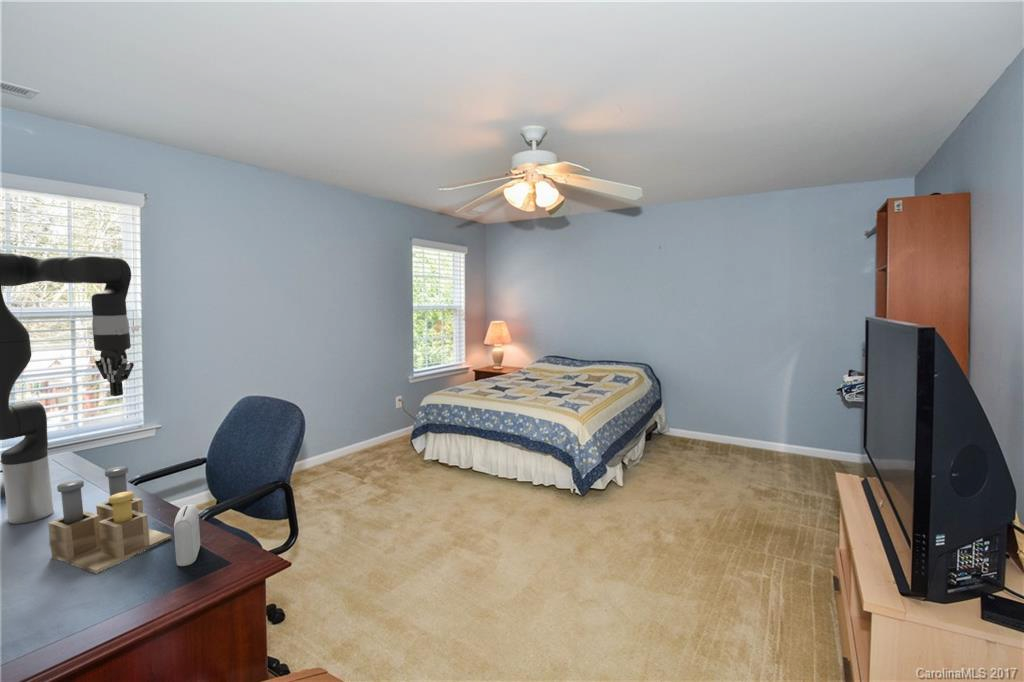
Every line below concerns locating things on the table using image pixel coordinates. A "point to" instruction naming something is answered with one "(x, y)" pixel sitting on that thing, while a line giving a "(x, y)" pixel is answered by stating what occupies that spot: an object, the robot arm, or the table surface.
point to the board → (103, 538)
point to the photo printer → (187, 535)
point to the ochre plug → (121, 506)
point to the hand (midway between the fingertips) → (117, 395)
